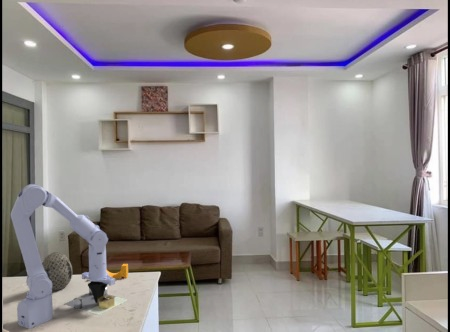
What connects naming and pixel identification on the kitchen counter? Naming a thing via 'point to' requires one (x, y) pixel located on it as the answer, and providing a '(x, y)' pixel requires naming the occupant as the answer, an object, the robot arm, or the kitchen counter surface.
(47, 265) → the decorative egg
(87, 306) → the board
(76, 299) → the cylinder
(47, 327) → the kitchen counter surface
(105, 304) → the brass nut
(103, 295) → the cylinder
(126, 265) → the pipe clamp
